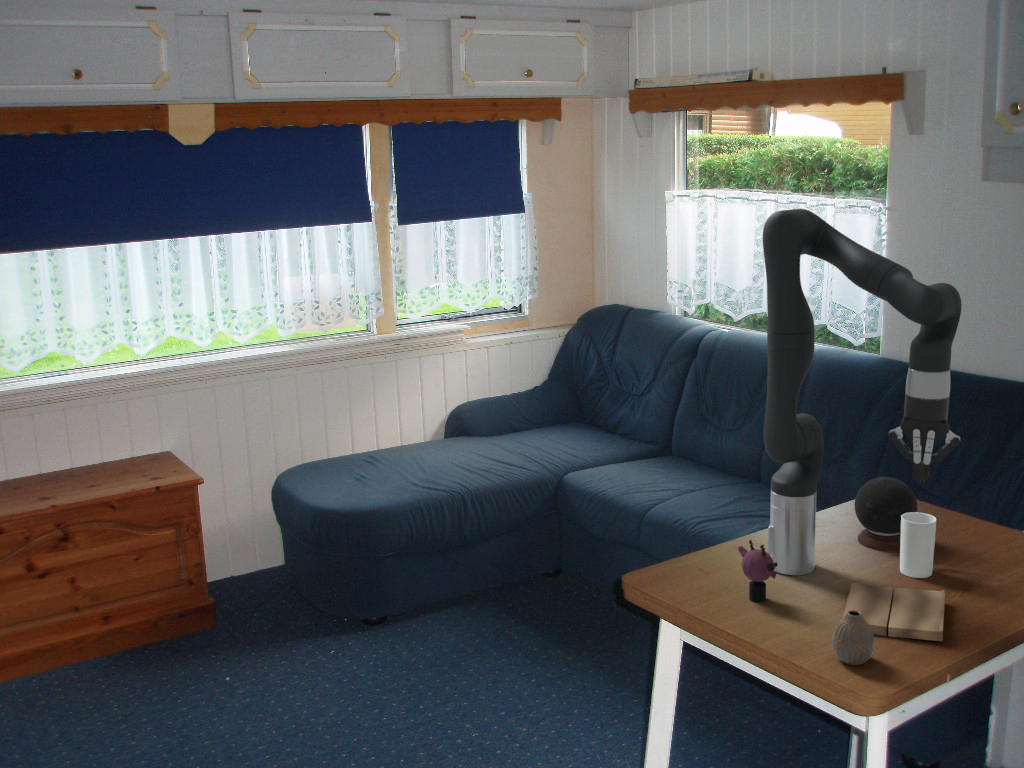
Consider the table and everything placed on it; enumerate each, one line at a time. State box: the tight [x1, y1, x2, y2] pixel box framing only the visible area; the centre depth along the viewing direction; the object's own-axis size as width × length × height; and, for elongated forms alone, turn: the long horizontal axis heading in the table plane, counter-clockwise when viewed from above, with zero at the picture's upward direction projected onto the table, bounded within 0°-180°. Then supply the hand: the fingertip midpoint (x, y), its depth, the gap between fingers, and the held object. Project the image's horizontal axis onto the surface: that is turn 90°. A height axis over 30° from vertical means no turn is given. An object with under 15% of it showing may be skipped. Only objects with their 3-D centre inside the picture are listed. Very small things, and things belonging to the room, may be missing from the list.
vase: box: [831, 610, 876, 666], centre depth 171 cm, size 7×7×9 cm
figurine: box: [737, 539, 778, 603], centre depth 196 cm, size 8×8×12 cm
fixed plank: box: [842, 582, 894, 637], centre depth 189 cm, size 8×18×2 cm, turn 156°
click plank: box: [887, 587, 946, 642], centre depth 186 cm, size 9×18×2 cm, turn 156°
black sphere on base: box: [854, 476, 918, 552], centre depth 222 cm, size 13×13×15 cm
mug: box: [899, 511, 937, 579], centre depth 206 cm, size 10×7×12 cm, turn 132°
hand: (920, 481), depth 187 cm, fingers closed
